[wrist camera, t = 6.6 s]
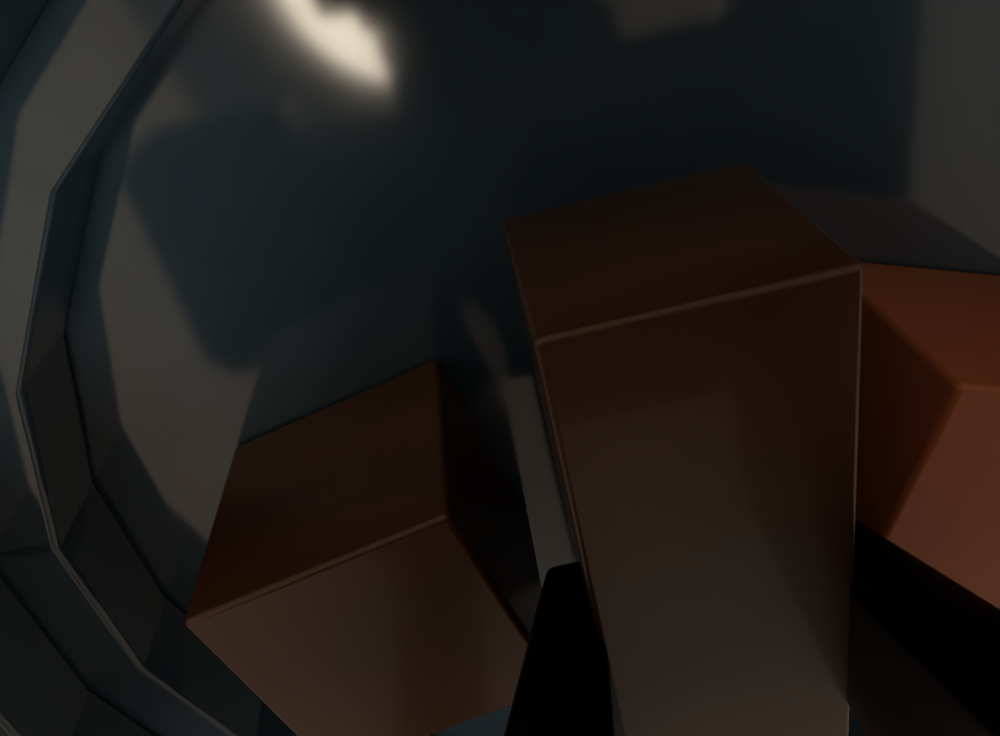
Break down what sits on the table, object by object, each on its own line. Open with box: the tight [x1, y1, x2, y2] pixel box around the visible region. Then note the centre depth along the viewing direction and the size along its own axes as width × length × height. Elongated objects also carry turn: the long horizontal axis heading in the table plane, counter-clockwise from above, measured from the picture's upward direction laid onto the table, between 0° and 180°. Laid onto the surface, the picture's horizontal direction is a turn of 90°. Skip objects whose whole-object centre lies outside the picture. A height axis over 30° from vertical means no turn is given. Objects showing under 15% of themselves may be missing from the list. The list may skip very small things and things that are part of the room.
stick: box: [502, 163, 863, 736], centre depth 9 cm, size 8×2×2 cm, turn 12°
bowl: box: [0, 0, 1000, 736], centre depth 10 cm, size 17×17×3 cm
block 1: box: [185, 360, 542, 736], centre depth 10 cm, size 3×3×3 cm
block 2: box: [855, 262, 1000, 609], centre depth 10 cm, size 3×3×3 cm
